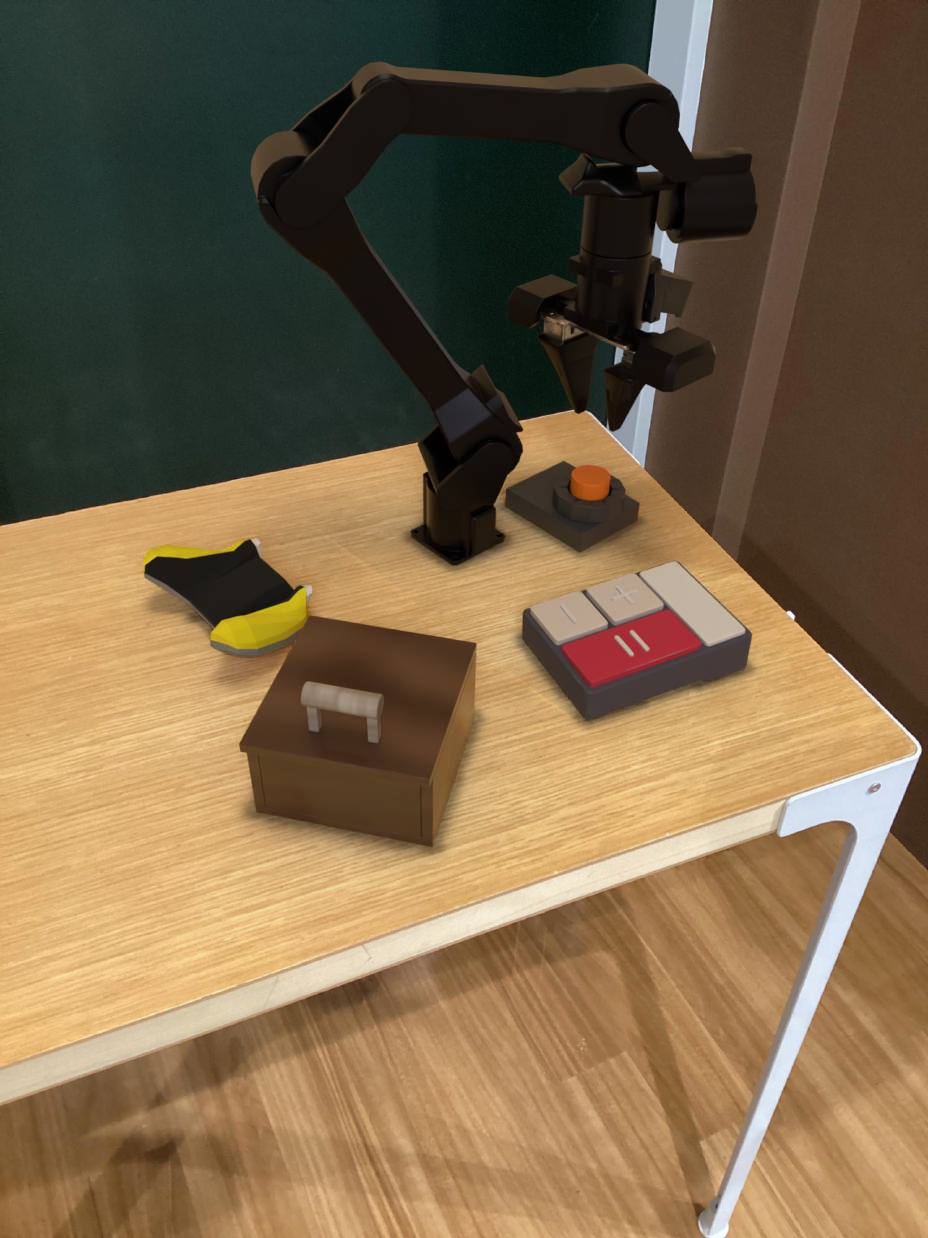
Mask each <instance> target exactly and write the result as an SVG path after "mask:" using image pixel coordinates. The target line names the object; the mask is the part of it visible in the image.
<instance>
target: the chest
mask: <svg viewBox="0 0 928 1238" xmlns="http://www.w3.org/2000/svg"><path fill="white" fill-rule="evenodd" d="M476 672H477V653H476V654H475V657H474V659H473V662H472V665H471V668H470V671H469V674H468V677H467V680H466V683H465V686H464V689H463V692H462V694H461V697H460V700H459V703H458V706H457V709H456V712H455V715H454V718H453V721H452V724H451V727H450V729H449V732H448V735H447V738H446V741H445V744H444V747H443V750H442V753H441V756H440V759H439V762H438V764H437V767H436V770H435V773H434V776H433V779H432V782H431V785H430V787H429V788H427V787H422V786H417V785H412V784H406V783H401V782H396V781H391V780H385V779H380V778H375V777H370V776H364V775H359V774H354V773H349V772H344V771H338V770H333V769H328V768H323V767H317V766H312V765H307V764H302V763H296V762H291V761H286V760H281V759H275V758H270V757H265V756H260V755H254V754H249V753H246V757H247V763H248V770H249V777H250V781H251V788H252V795H253V801H254V807H255V812H256V813H259V814H265V815H269V816H275V817H280V818H285V819H289V820H295V821H300V822H305V823H308V824H309V823H310V824H315V825H319V826H325V827H330V828H334V829H339V830H345V831H350V832H355V833H360V834H363V835H364V834H365V835H368V836H369V835H371V836H375V837H379V838H384V839H389V840H395V841H399V842H405V843H409V844H415V845H419V846H425V847H431V848H433V847H434V844H435V842H436V838H437V835H438V832H439V829H440V826H441V823H442V820H443V817H444V813H445V811H446V808H447V804H448V801H449V798H450V795H451V792H452V790H453V789H452V788H453V786H454V783H455V780H456V777H457V773H458V770H459V767H460V765H461V761H462V758H463V755H464V752H465V749H466V746H467V742H468V739H469V736H470V733H471V731H472V727H473V723H474V720H475V708H476V707H475V703H476V701H475V700H476V679H477V677H476V675H477V673H476Z"/></svg>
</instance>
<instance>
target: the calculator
mask: <svg viewBox="0 0 928 1238" xmlns="http://www.w3.org/2000/svg"><path fill="white" fill-rule="evenodd" d="M521 617H522V620H521V621H522V623H521V624H522V625H521V626H522V627H521V628H522V629H521V635H522V636H521V638H522V640H523V641H524V643H525V645H526V646H527V647H528V648H529V649H530V650H531V652H532V653H533V655H534V656H535V657H536V658H537V659H538V661H539V662H540V664H541V665H542V666H543V668H544V669H545V670H546V671H547V672H548V674H549V675H550V677H551V678H552V679H553V680H554V682H555V683H556V684H557V685H558V687H559V688H560V689H561V691H562V692H563V694H564V695H565V696H566V697H567V698H568V700H569V701H570V702H571V704H572V705H573V706H574V708H575V709H576V710H577V711H578V713H579V714H580V716H581V717H582V718H583V719H584V720H587V721H591V720H595V719H597V718H598V719H599V718H600V717H603V716H606V715H608V714H611V713H614V712H616V711H620V710H622V709H625V708H627V707H631V706H633V705H636V704H639V703H641V702H644V701H647V700H649V699H651V698H654V697H655V698H656V697H657V696H659V695H662V694H665V693H668V692H670V691H673V690H676V689H679V688H681V687H684V686H687V685H689V684H693V683H696V682H698V681H707V682H711V681H712V682H713V681H714V680H717V679H719V678H722V677H725V676H728V675H730V674H733V673H736V672H738V671H741V670H744V669H745V668H747V665H748V660H749V655H750V650H751V645H752V639H753V633H752V632H751V631H750V629H749V628H747V626H746V625H744V623H742V622H741V621H740V619H739V618H737V617H736V616H735V615H734V614H733V613H732V612H731V611H730V610H729V609H728V608H727V607H726V606H725V605H724V603H722V602H721V601H720V600H719V599H718V598H717V597H716V596H714V595H713V594H712V593H711V591H709V590H708V588H706V586H704V584H702V583H701V581H699V580H698V579H697V578H696V577H695V576H694V575H693V574H692V573H691V572H690V571H689V570H687V568H686V567H685V566H683V564H681V562H679V561H678V560H671V561H668V562H666V563H665V562H664V563H662V564H659V565H656V566H653V567H650V568H647V569H644V570H640V571H638V572H635V573H633V572H632V573H628V574H625V575H622V576H619V577H616V578H613V579H610V580H607V581H604V582H600V583H597V584H595V585H591V586H588V587H587V588H586V589H582V590H576V591H573V592H570V593H567V594H564V595H561V596H557V597H555V598H551V599H547V600H545V601H542V602H539V603H537V604H533V605H531V606H530V607H528V608H525V609H524V610H523V611H522V616H521Z"/></svg>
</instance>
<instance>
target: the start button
mask: <svg viewBox="0 0 928 1238" xmlns="http://www.w3.org/2000/svg"><path fill="white" fill-rule="evenodd" d="M610 475H611V474H610V471H608V470H607V469H606V468H605V467H602V466H599V465H594V464H583V465H579V466H576V468H575V469H574V470H573V471H572V474H571V485H570V491H571V493H572V495H574V496H575V497H577V498H579V499H584V500H589V501H594V500H602V499H604V498H606V497H607V496H608V494H609V487H610V479H611V476H610Z"/></svg>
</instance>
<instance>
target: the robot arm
mask: <svg viewBox="0 0 928 1238" xmlns="http://www.w3.org/2000/svg"><path fill="white" fill-rule="evenodd" d="M680 120H681V111H680V107H679V102H678V100H677V98H676V97H675V95H674V93H673V91H672V90H671V89H669V88H668V87H666V86H665V85H664V84H663V83H661V82H659V81H657V79H655V78H653V77H652V76H650V75H649V74H647V73H646V72H644V71H643V70H641V69H640V68H638V67H637V66H636V65H632V64H628V63H615V64H608V65H599V66H592V67H584V68H579V69H576V70H574V71H573V70H572V71H570V72H567V73H564V74H561V75H553V76H548V77H547V76H546V77H540V76H539V77H538V76H528V75H527V76H526V75H513V74H512V75H511V74H499V73H486V72H474V71H473V72H472V71H459V70H458V71H457V70H446V69H445V70H444V69H434V68H433V69H431V68H418V67H405V66H395V65H392V64H390V63H387V62H384V61H374V62H369V63H368V64H366V65H364V66H362V67H360V69H359V70H358V71H357V72H356V74H355V75H354V76H353V77H352V78H351V79H350V80H349V81H348V82H346V84H345V85H344V86H342V87H341V88H340V89H338V90H337V91H335V92H334V93H333V94H331V95H329V97H327V98H325V100H323V101H322V102H320V103H319V104H317V105H315V106H314V107H313V108H312V109H310V110H309V111H308V112H307V113H306V114H305V115H304V116H303V117H302V118H301V119H299V121H298V122H296V123H295V125H294V126H293V127H291V129H290V130H284V131H277V132H275V133H272V134H271V135H269V136H267V137H266V138H264V139H263V140H262V142H261V143H259V145H258V146H257V147H256V148H255V151H254V154H253V156H252V158H251V166H250V177H251V181H252V185H253V189H254V193H255V197H256V201H257V206H258V209H259V212H260V215H261V217H262V219H263V220H264V222H265V224H266V225H267V226H268V227H269V229H271V230H272V231H273V232H274V233H275V234H276V235H277V236H278V237H279V238H280V239H282V240H283V241H284V242H285V243H286V244H287V245H288V246H289V247H290V248H292V249H293V250H294V252H296V253H297V254H298V255H299V256H300V257H302V259H305V260H306V261H307V262H309V263H310V264H312V265H313V266H314V267H316V268H317V269H319V270H320V271H322V272H323V273H324V274H326V275H327V276H328V277H329V278H330V279H331V280H333V282H334V283H335V285H336V286H337V287H338V289H339V290H340V291H341V292H342V294H343V295H344V297H345V298H346V299H347V300H348V302H349V303H350V304H351V305H352V307H353V308H354V310H355V311H356V312H357V313H358V315H359V316H360V317H361V319H362V321H364V322H365V324H366V325H367V326H368V328H369V330H371V332H372V333H373V334H374V336H375V337H376V338H377V339H378V340H379V342H380V343H381V345H382V346H383V347H384V349H385V350H386V352H388V354H389V355H390V356H391V358H392V359H393V361H394V362H395V363H396V364H397V366H398V367H399V368H400V369H401V371H402V372H403V374H404V375H405V377H407V379H408V380H409V381H410V382H411V384H412V385H413V386H414V388H415V389H416V390H417V392H418V394H420V396H421V397H422V398H423V399H424V401H425V402H426V404H427V405H428V406H429V408H430V410H431V412H432V414H433V416H434V419H435V420H436V423H435V424H434V425H433V427H432V428H431V429H429V430H428V431H427V432H426V433H425V434H424V436H422V437H421V438H420V440H418V442H417V447H418V450H419V453H420V455H421V458H422V460H423V462H424V466H425V468H426V470H427V471H426V472H425V471H424V472H423V473H422V524H421V525H419V526H416V527H414V528H412V529H411V530H410V531H409V532H410V537H411V538H412V539H413V540H415V541H416V542H418V543H419V544H421V545H423V546H424V547H425V548H426V549H428V550H429V551H431V552H432V553H434V554H435V555H437V556H438V557H439V558H441V559H443V560H444V561H445V562H447V563H448V564H450V565H452V566H458V565H461V564H463V563H465V562H467V561H468V560H470V559H472V558H474V557H476V556H478V555H481V554H482V553H484V552H486V551H487V550H490V549H492V548H494V547H496V546H497V545H499V544H502V543H503V542H505V541H506V534H505V533H504V532H502V531H500V530H498V529H497V528H496V526H497V525H496V521H497V507H496V506H495V504H496V502H497V500H498V497H499V496H500V493H501V491H502V489H503V486H504V485H505V482H506V480H507V477H508V476H509V474H511V473H512V472H513V471H515V469H516V468H517V466H518V464H519V463H520V461H521V457H522V454H523V453H524V446H523V443H522V440H521V438H520V436H519V435H518V433H522V432H524V427H523V426H522V424H521V423H520V419H518V417H517V415H516V413H515V411H514V409H513V407H512V406H511V403H510V402H509V401H508V399H507V397H506V395H505V393H504V392H502V391H501V390H499V389H497V388H496V387H495V385H494V383H493V381H492V379H491V377H490V375H489V373H488V372H487V370H486V368H485V366H484V364H480V365H479V366H478V367H477V368H476V369H475V370H474V371H473V372H472V373H469V372H468V371H467V370H465V369H463V368H462V367H461V366H460V365H458V364H457V363H456V361H454V359H453V358H452V356H451V354H450V353H449V352H448V351H447V348H445V347H444V345H443V344H442V342H441V341H440V339H439V338H438V337H437V335H436V334H435V333H434V331H433V330H432V328H431V327H430V326H429V324H428V322H427V321H426V319H424V317H423V316H422V314H421V313H420V312H419V310H418V309H417V308H416V306H415V305H414V303H413V302H412V301H411V299H410V298H409V296H408V295H407V293H405V291H404V289H403V288H402V287H401V284H400V283H398V281H397V280H396V277H394V275H393V274H392V273H391V271H390V270H389V269H388V267H387V266H386V264H385V263H384V261H383V260H382V259H381V258H380V256H379V255H378V253H377V251H375V249H374V247H372V245H371V244H370V242H369V241H368V239H367V238H366V237H365V235H364V233H363V232H362V229H361V227H360V225H359V223H358V221H357V219H356V217H355V215H354V212H353V210H352V208H351V206H350V205H349V202H348V200H347V198H346V197H347V196H348V195H349V194H350V193H351V192H352V191H353V190H354V189H356V188H357V186H358V185H359V184H360V183H362V181H363V179H364V178H365V176H366V175H367V174H368V172H370V170H371V168H372V167H373V166H374V165H375V164H376V163H377V161H378V159H379V158H380V156H381V155H382V154H383V152H384V151H385V150H386V148H387V147H388V146H389V145H390V144H391V143H392V142H393V141H395V140H396V138H397V137H398V136H399V135H412V136H413V135H415V136H431V137H449V138H466V139H482V140H483V139H484V140H485V139H486V140H499V141H501V140H502V141H517V142H519V141H520V142H534V143H550V144H555V145H558V146H562V147H565V148H568V149H571V150H574V151H577V152H579V153H580V155H579V156H578V158H577V159H576V161H575V162H574V163H572V164H571V165H570V166H568V167H567V168H565V170H564V171H562V172H561V173H560V174H559V175H558V181H559V182H560V183H561V184H562V186H564V188H565V189H566V190H567V191H568V192H569V193H570V194H571V195H572V196H574V197H584V198H583V209H582V219H581V220H582V221H581V230H580V231H581V232H580V244H579V254H577V255H573V256H570V257H568V261H567V272H570V273H572V274H575V275H577V277H576V283H574V282H571V281H569V280H566V279H564V278H562V277H559V276H557V275H554V274H552V273H551V274H548V275H546V276H543V277H540V278H538V279H534V280H532V281H529V282H526V283H523V284H519V285H517V286H516V287H515V288H514V289H513V291H511V294H510V295H509V297H508V302H507V321H510V322H512V323H514V324H516V325H519V326H521V327H523V328H525V329H527V330H529V329H531V328H532V329H533V328H534V327H535V326H536V325H537V324H538V323H540V321H541V318H542V319H543V320H544V321H543V332H541V333H538V334H537V336H536V340H537V343H539V344H541V345H542V346H543V347H544V349H545V352H546V353H547V355H548V357H549V359H550V361H551V364H552V365H553V367H554V369H555V371H556V373H557V375H558V377H559V379H560V381H561V384H562V387H563V388H564V391H565V393H566V395H567V399H568V400H569V403H570V405H571V407H572V410H573V412H574V414H577V415H580V414H582V413H584V412H586V409H587V407H588V403H589V397H590V391H591V383H592V376H593V375H592V374H593V366H594V365H593V364H594V356H595V351H596V349H597V347H598V345H599V343H600V341H602V342H605V343H607V344H609V345H612V346H613V347H616V348H618V349H620V350H622V356H621V360H620V362H617V363H615V364H613V365H610V366H608V367H605V368H604V371H603V373H604V388H605V405H606V419H607V424H608V430H609V431H610V432H611V433H614V432H617V431H619V430H620V429H621V428H622V426H623V425H624V422H625V421H626V419H627V418H628V415H629V413H630V412H631V410H632V408H633V406H634V405H635V403H636V401H637V399H638V397H639V395H640V394H641V392H642V390H643V389H644V387H645V386H649V387H651V388H653V389H655V390H657V391H659V392H661V393H674V392H676V391H678V390H681V389H683V388H685V387H687V386H689V385H691V384H693V383H695V382H697V381H700V380H702V379H704V378H707V377H708V376H711V375H713V374H714V369H715V363H716V357H717V351H716V347H715V346H714V344H713V343H712V341H711V340H710V339H708V338H705V337H703V336H700V335H698V334H695V333H693V332H691V331H688V330H687V329H683V328H682V327H680V326H676V327H673V328H671V329H669V330H666V331H664V332H662V333H660V332H658V331H645V330H642V328H643V324H644V323H647V324H650V325H651V324H654V323H657V322H658V321H660V320H661V315H662V314H669V315H674V317H676V318H678V319H679V318H682V317H683V316H684V313H685V310H686V307H687V304H688V303H689V299H690V296H691V294H692V291H693V288H694V285H695V280H694V279H691V278H688V277H686V276H683V275H680V274H677V273H675V272H672V271H670V270H667V269H665V268H663V262H662V258H661V257H657V256H655V255H652V254H653V248H654V239H655V231H656V226H657V228H658V230H659V231H661V232H665V234H666V236H667V238H668V239H669V241H670V242H671V243H672V244H676V245H677V244H695V243H706V242H721V241H736V240H737V241H738V240H742V239H745V238H747V236H748V235H750V233H751V231H752V229H753V227H754V225H755V221H756V218H757V215H758V209H759V208H758V207H759V206H758V202H757V200H756V198H757V194H756V192H757V191H756V184H755V179H754V175H753V173H752V170H751V166H752V161H753V154H752V153H750V152H749V151H748V150H746V149H745V148H744V147H742V146H732V147H731V146H729V147H725V148H721V149H717V150H705V151H701V150H700V151H691V150H690V149H689V148H690V147H688V144H687V143H686V141H685V139H684V138H683V135H682V134H681V131H680V130H679V128H680V122H681V121H680ZM591 157H592V158H595V159H598V160H603V161H607V162H608V163H596V162H595V161H594V160H593V159H592V158H591ZM609 162H610V163H609ZM648 166H651V167H653V168H654V169H655V170H656V171H637V170H636V168H638V169H639V168H645V167H648Z"/></svg>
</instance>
